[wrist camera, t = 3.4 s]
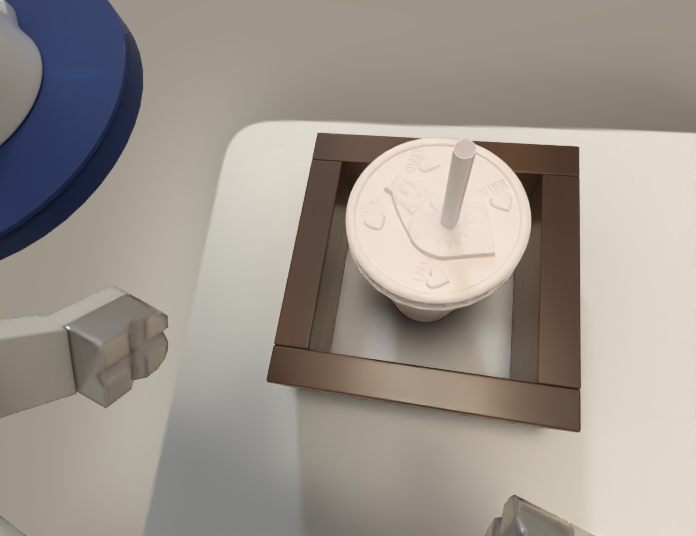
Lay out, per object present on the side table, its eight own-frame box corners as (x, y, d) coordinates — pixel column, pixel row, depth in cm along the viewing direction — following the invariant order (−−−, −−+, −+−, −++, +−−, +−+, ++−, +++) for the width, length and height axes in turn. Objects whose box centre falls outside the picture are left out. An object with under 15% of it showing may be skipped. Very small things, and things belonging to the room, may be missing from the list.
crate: (294, 387, 23) (265, 381, 18) (333, 181, 27) (317, 132, 22) (542, 428, 21) (581, 433, 16) (546, 197, 24) (579, 146, 20)
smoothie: (434, 372, 22) (473, 317, 9) (344, 296, 24) (268, 159, 11) (508, 281, 23) (640, 113, 10) (416, 215, 25) (425, 1, 12)
